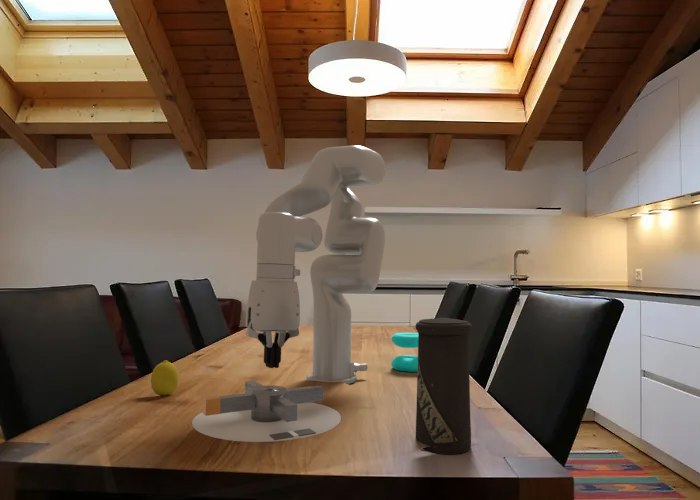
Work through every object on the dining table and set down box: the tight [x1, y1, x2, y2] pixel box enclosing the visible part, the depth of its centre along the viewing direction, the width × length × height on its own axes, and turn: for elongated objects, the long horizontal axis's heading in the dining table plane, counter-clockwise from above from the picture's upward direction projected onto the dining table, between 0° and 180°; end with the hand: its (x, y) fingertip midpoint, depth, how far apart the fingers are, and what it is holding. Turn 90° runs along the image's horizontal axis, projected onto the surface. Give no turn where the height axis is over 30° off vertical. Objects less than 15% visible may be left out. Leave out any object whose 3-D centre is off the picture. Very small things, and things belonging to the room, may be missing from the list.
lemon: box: [150, 359, 180, 397], centre depth 107 cm, size 6×6×8 cm
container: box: [415, 317, 473, 455], centre depth 80 cm, size 9×9×20 cm
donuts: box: [390, 332, 418, 373], centre depth 144 cm, size 10×10×10 cm
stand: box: [191, 402, 342, 443], centre depth 90 cm, size 26×26×1 cm
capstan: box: [201, 380, 324, 422], centre depth 90 cm, size 22×21×5 cm
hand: (272, 366), depth 100 cm, fingers closed
